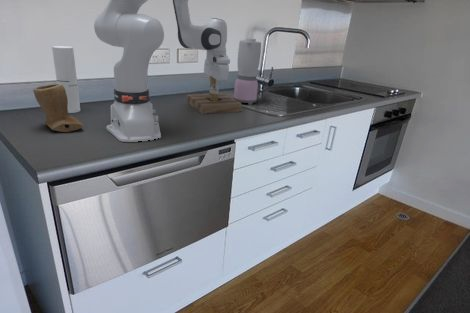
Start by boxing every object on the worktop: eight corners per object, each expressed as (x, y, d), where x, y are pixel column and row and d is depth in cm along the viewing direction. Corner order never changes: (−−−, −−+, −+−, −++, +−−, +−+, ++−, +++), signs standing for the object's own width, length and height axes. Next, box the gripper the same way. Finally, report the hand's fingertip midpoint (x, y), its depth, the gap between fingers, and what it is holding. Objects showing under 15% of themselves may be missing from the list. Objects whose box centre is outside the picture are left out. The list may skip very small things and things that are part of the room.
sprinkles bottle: (210, 101, 150) (211, 72, 145) (208, 98, 154) (209, 70, 149) (219, 101, 152) (221, 72, 146) (217, 98, 156) (218, 70, 150)
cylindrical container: (61, 108, 132) (52, 45, 122) (80, 108, 135) (73, 46, 125) (60, 113, 126) (51, 47, 116) (80, 112, 129) (73, 48, 119)
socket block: (241, 111, 151) (241, 103, 149) (201, 113, 142) (202, 105, 140) (223, 101, 167) (223, 93, 165) (187, 102, 158) (187, 94, 156)
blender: (255, 106, 163) (262, 40, 150) (232, 103, 163) (237, 37, 151) (256, 99, 177) (263, 38, 165) (235, 97, 178) (240, 36, 165)
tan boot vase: (37, 123, 114) (29, 81, 108) (72, 119, 121) (67, 79, 115) (45, 136, 103) (37, 90, 97) (84, 131, 110) (79, 88, 104)
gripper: (201, 54, 152) (200, 82, 157) (218, 60, 135) (217, 92, 141) (213, 54, 155) (211, 82, 160) (232, 60, 138) (229, 91, 144)
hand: (214, 87), depth 150 cm, fingers closed on sprinkles bottle, 4 cm apart
